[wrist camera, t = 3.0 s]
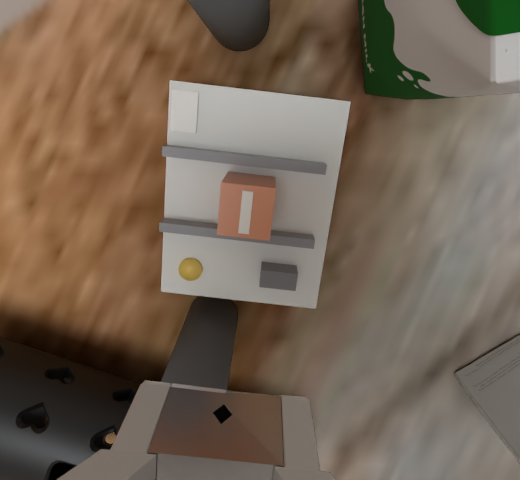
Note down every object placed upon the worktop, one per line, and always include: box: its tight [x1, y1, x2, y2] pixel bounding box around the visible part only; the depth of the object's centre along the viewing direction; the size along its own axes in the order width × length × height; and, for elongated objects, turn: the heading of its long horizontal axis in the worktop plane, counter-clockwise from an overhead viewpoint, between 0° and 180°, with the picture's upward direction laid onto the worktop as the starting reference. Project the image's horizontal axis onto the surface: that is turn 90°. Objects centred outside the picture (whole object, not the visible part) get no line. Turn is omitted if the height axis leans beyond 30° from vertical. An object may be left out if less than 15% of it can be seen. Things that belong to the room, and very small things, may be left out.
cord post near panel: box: [161, 296, 238, 390], centre depth 27 cm, size 4×4×14 cm
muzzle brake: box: [0, 337, 141, 480], centre depth 32 cm, size 10×28×10 cm, turn 69°
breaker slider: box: [217, 171, 276, 241], centre depth 25 cm, size 3×3×4 cm
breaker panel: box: [159, 80, 351, 309], centre depth 28 cm, size 11×14×6 cm
